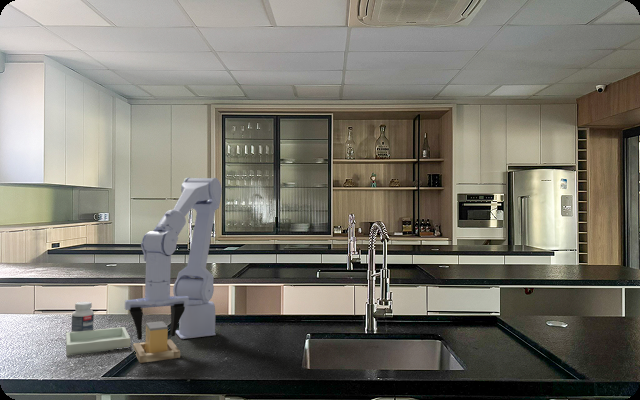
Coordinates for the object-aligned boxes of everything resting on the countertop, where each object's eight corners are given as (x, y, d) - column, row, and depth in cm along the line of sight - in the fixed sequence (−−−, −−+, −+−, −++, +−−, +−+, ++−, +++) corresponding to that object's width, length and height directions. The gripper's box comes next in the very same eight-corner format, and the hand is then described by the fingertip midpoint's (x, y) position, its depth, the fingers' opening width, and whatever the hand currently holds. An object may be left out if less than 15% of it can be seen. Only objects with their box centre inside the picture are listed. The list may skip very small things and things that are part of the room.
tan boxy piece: (162, 349, 117) (162, 321, 117) (167, 356, 112) (167, 326, 112) (145, 351, 115) (146, 322, 115) (149, 358, 110) (150, 328, 110)
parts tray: (124, 336, 128) (124, 326, 128) (130, 348, 117) (130, 338, 117) (65, 342, 121) (66, 332, 121) (66, 355, 111) (66, 345, 111)
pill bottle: (84, 339, 124) (85, 305, 124) (66, 337, 125) (67, 304, 125) (97, 334, 129) (98, 301, 130) (80, 332, 131) (81, 300, 131)
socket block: (170, 345, 121) (170, 339, 121) (180, 357, 111) (180, 351, 111) (133, 349, 116) (133, 343, 116) (139, 363, 107) (139, 356, 107)
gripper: (128, 284, 107) (126, 344, 107) (192, 281, 114) (190, 337, 114) (124, 280, 113) (122, 337, 113) (185, 277, 120) (183, 330, 120)
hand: (156, 336), depth 114 cm, fingers open, 7 cm apart
